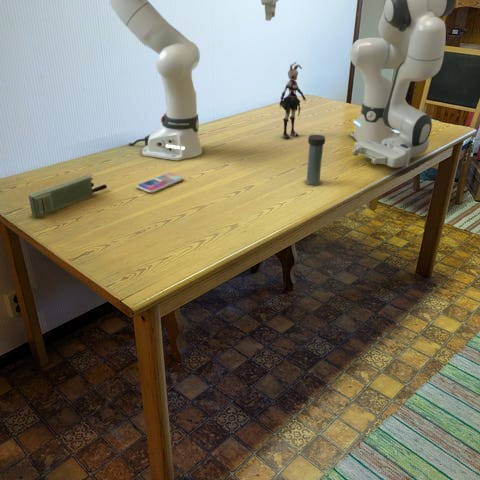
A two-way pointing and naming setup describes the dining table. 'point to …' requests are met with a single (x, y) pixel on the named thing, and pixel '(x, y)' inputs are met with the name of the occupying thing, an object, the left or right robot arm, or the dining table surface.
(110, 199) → the dining table surface
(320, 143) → the lid
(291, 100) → the figurine
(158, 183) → the smartphone
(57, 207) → the handheld radio
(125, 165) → the dining table surface
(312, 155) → the jar
